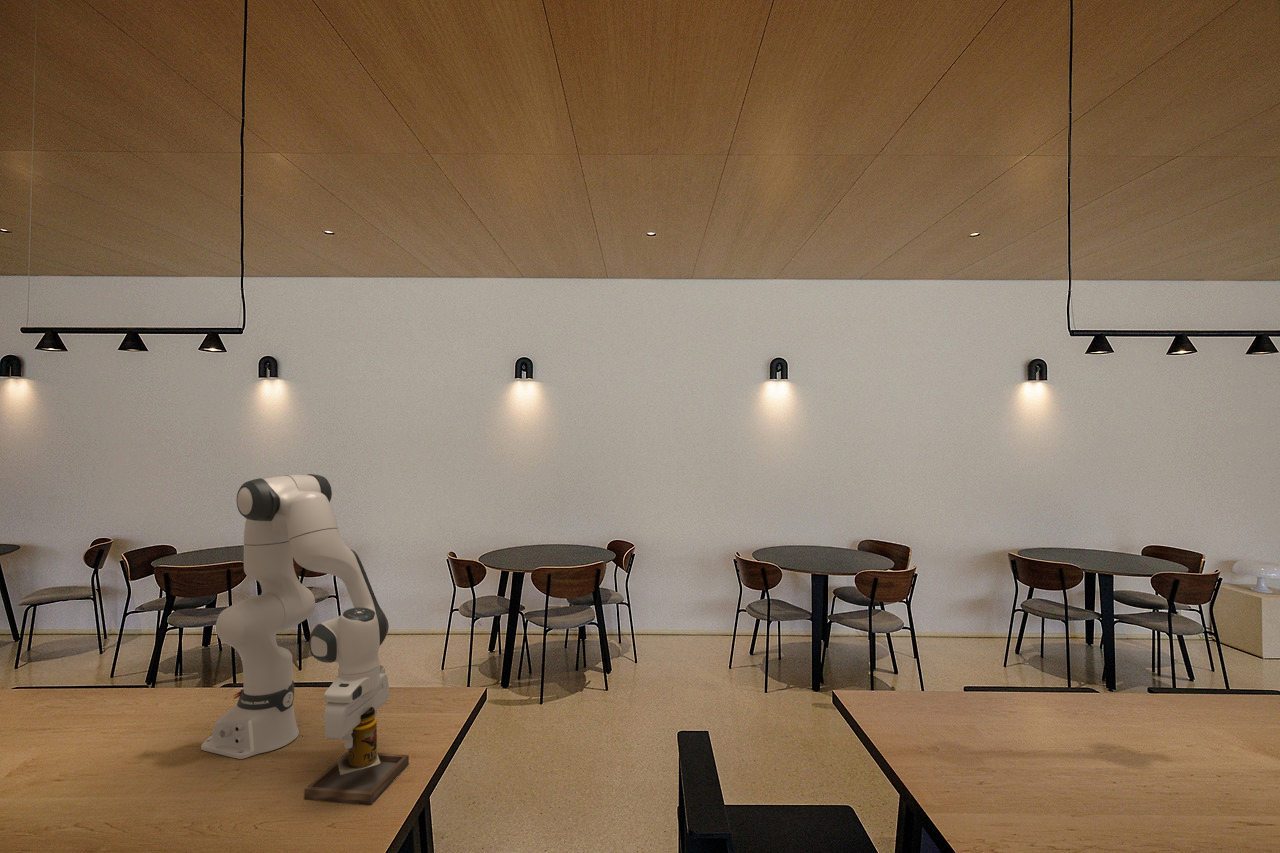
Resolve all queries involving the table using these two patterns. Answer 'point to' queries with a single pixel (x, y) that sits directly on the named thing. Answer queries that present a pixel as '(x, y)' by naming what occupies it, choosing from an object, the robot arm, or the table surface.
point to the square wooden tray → (357, 781)
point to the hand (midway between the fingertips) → (359, 738)
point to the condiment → (362, 745)
